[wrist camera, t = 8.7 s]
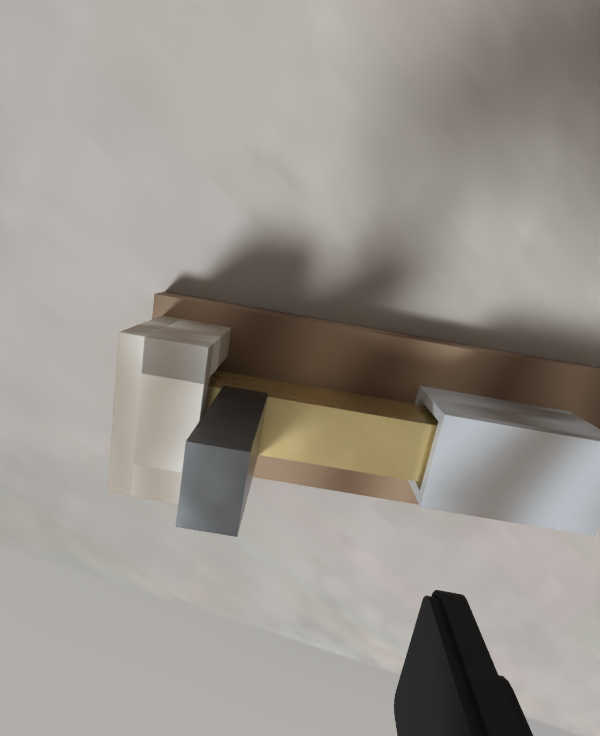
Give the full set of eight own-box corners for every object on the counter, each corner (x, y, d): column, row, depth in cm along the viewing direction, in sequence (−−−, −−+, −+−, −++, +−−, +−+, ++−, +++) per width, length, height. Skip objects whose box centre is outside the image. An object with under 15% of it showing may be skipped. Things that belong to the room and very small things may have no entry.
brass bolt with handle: (478, 413, 22) (582, 508, 14) (462, 466, 23) (553, 588, 14) (183, 362, 22) (104, 427, 13) (177, 418, 22) (98, 513, 14)
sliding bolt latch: (611, 370, 24) (725, 412, 17) (559, 515, 26) (643, 600, 19) (164, 291, 23) (108, 304, 17) (149, 446, 25) (94, 510, 19)
